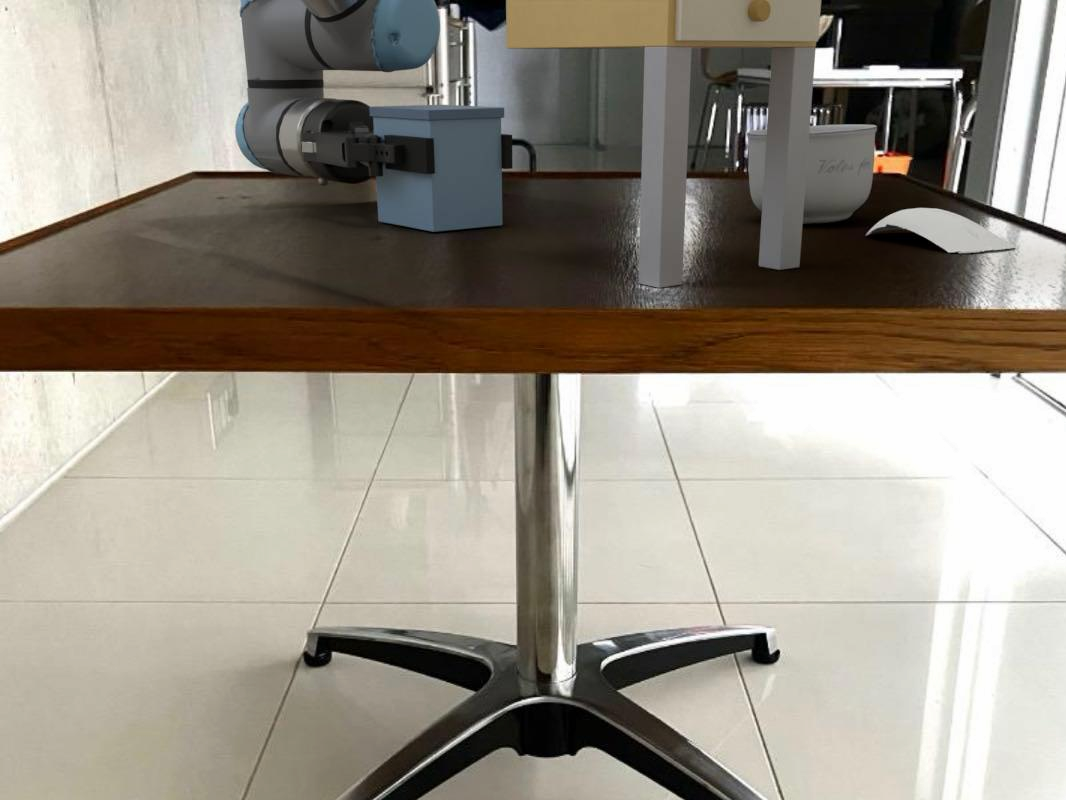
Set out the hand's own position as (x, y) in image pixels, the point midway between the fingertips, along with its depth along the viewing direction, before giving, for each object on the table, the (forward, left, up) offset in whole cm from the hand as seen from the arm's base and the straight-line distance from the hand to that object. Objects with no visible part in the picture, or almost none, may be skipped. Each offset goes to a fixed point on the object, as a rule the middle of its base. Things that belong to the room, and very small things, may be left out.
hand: (470, 154), depth 100 cm
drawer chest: (+11, -19, -6) cm, 23 cm away
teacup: (+30, +3, -6) cm, 31 cm away
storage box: (-3, +4, -6) cm, 8 cm away
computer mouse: (+35, -12, -6) cm, 38 cm away
